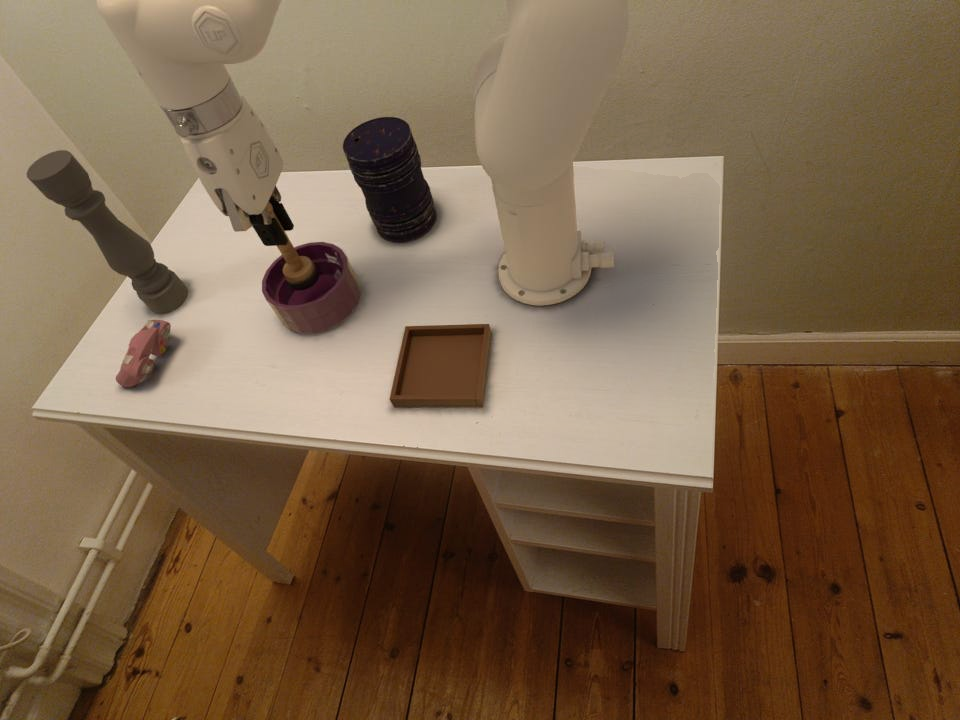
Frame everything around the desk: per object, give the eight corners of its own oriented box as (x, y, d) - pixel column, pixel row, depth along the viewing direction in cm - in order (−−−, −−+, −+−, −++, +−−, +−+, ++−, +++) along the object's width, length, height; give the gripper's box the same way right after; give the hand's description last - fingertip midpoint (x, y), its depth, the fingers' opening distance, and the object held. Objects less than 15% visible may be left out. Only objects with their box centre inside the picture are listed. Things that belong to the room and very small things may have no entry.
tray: (491, 333, 79) (489, 323, 78) (483, 407, 73) (480, 399, 71) (409, 335, 82) (405, 326, 80) (394, 407, 75) (389, 399, 74)
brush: (322, 266, 85) (281, 188, 74) (314, 290, 82) (270, 213, 72) (293, 267, 86) (248, 191, 75) (284, 291, 83) (236, 215, 72)
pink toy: (148, 397, 86) (139, 374, 80) (115, 387, 85) (103, 363, 79) (181, 340, 91) (174, 315, 85) (150, 331, 90) (141, 304, 85)
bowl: (369, 269, 90) (356, 239, 86) (351, 335, 83) (335, 306, 79) (294, 272, 93) (276, 244, 88) (270, 337, 86) (250, 310, 81)
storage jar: (441, 197, 97) (416, 112, 85) (433, 241, 91) (405, 157, 79) (381, 202, 99) (349, 120, 87) (370, 245, 93) (334, 164, 81)
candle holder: (196, 288, 95) (83, 152, 75) (170, 317, 92) (46, 184, 72) (167, 280, 97) (51, 146, 77) (141, 308, 94) (14, 177, 74)
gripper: (209, 150, 58) (289, 282, 73) (260, 59, 67) (322, 193, 82) (139, 156, 59) (232, 284, 74) (199, 66, 68) (271, 196, 83)
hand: (279, 235), depth 78 cm, fingers closed on brush, 2 cm apart
